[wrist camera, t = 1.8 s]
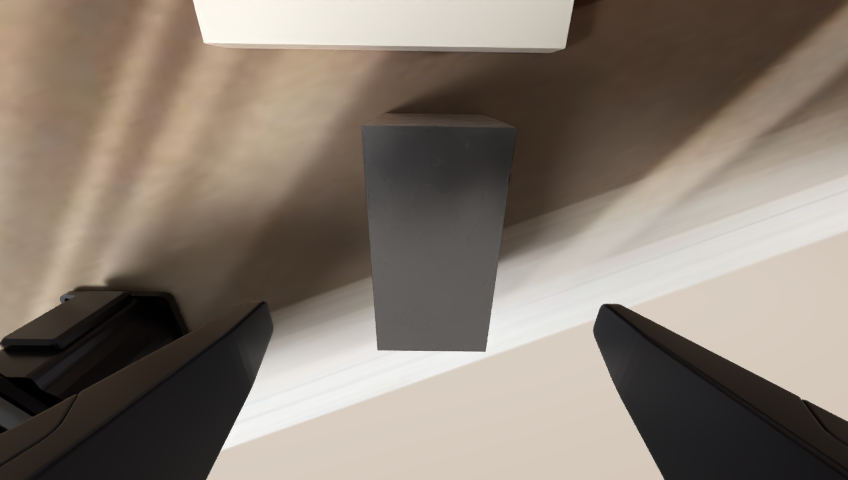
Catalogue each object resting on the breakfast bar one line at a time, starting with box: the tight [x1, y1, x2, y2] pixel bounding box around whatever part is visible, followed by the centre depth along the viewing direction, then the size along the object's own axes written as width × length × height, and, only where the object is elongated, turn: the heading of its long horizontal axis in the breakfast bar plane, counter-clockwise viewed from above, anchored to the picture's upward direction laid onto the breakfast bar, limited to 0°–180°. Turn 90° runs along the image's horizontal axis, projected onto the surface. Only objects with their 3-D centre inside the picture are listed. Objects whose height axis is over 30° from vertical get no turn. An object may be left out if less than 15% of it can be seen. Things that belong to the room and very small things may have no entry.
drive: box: [361, 113, 517, 352], centre depth 14 cm, size 9×5×6 cm, turn 179°
